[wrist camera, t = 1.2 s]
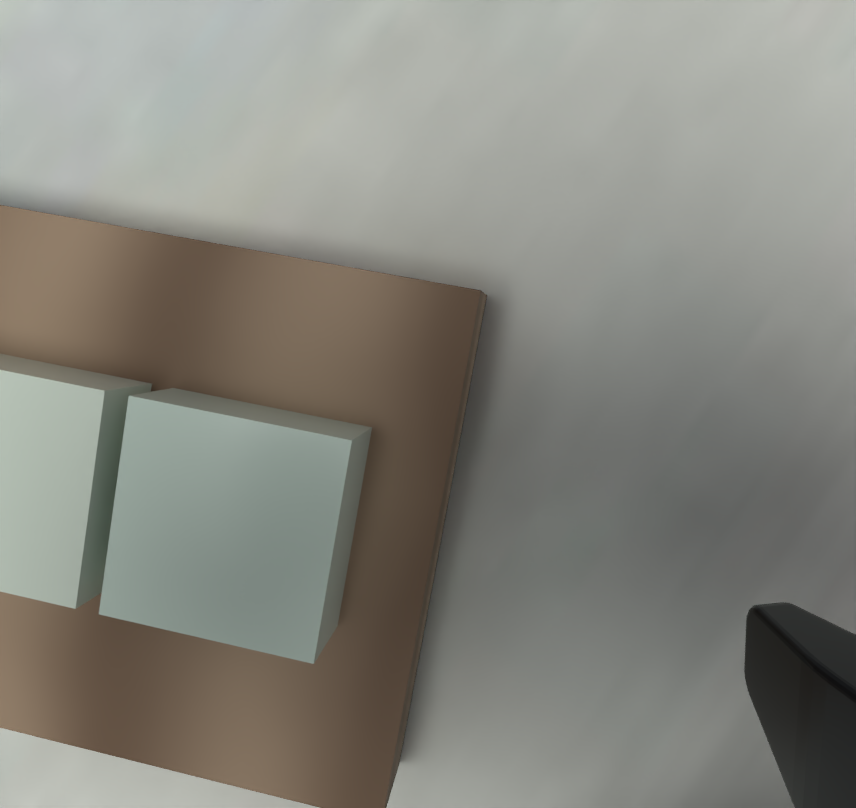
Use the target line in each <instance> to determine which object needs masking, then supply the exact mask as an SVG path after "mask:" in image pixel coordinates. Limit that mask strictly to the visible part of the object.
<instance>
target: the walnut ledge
mask: <svg viewBox="0 0 856 808" xmlns="http://www.w3.org/2000/svg"><path fill="white" fill-rule="evenodd" d="M486 297H487V295H486V294H485V293H483V292H482V291H481V290H475V289H469V288H464V287H458V286H452V285H447V284H441V283H436V282H430V281H424V280H419V279H413V278H408V277H402V276H396V275H391V274H385V273H379V272H374V271H368V270H363V269H357V268H351V267H346V266H340V265H334V264H329V263H323V262H318V261H312V260H306V259H301V258H295V257H289V256H284V255H278V254H273V253H267V252H261V251H256V250H250V249H244V248H239V247H233V246H228V245H222V244H216V243H211V242H205V241H200V240H194V239H188V238H183V237H177V236H171V235H166V234H160V233H155V232H149V231H143V230H138V229H132V228H126V227H121V226H115V225H110V224H104V223H98V222H93V221H87V220H81V219H76V218H70V217H65V216H59V215H53V214H48V213H42V212H37V211H31V210H25V209H20V208H14V207H8V206H3V205H0V354H5V355H10V356H15V357H20V358H25V359H30V360H35V361H40V362H45V363H50V364H55V365H60V366H66V367H71V368H76V369H81V370H86V371H91V372H96V373H101V374H106V375H111V376H116V377H121V378H126V379H131V380H136V381H141V382H146V383H151V384H152V386H151V392H152V391H158V390H164V389H170V388H176V389H181V390H186V391H192V392H197V393H202V394H207V395H212V396H217V397H222V398H227V399H232V400H237V401H242V402H247V403H252V404H257V405H262V406H267V407H272V408H277V409H282V410H287V411H292V412H297V413H302V414H307V415H312V416H317V417H323V418H328V419H333V420H338V421H343V422H348V423H353V424H358V425H363V426H368V427H372V431H371V437H370V442H369V448H368V454H367V460H366V465H365V471H364V477H363V483H362V488H361V494H360V500H359V506H358V511H357V517H356V523H355V529H354V534H353V540H352V546H351V552H350V557H349V563H348V569H347V575H346V580H345V586H344V592H343V598H342V603H341V609H340V615H339V621H338V626H337V628H336V630H335V631H334V633H333V634H332V636H331V637H330V639H329V641H328V642H327V644H326V645H325V647H324V648H323V650H322V652H321V653H320V655H319V656H318V658H317V660H316V661H315V663H314V664H312V663H307V662H303V661H299V660H294V659H290V658H286V657H281V656H277V655H273V654H268V653H264V652H260V651H255V650H251V649H247V648H242V647H238V646H234V645H229V644H225V643H221V642H216V641H212V640H208V639H203V638H199V637H195V636H190V635H186V634H182V633H178V632H173V631H169V630H165V629H160V628H156V627H152V626H147V625H143V624H139V623H134V622H130V621H126V620H121V619H117V618H113V617H108V616H104V615H100V614H99V608H100V601H101V594H102V593H100V594H99V595H97V596H95V597H94V598H92V599H91V600H89V601H87V602H86V603H84V604H83V605H81V606H79V607H78V608H76V609H74V608H69V607H65V606H61V605H56V604H52V603H48V602H44V601H39V600H35V599H31V598H26V597H22V596H18V595H13V594H9V593H5V592H0V728H4V729H8V730H12V731H16V732H20V733H24V734H28V735H32V736H36V737H40V738H44V739H48V740H52V741H56V742H60V743H64V744H68V745H72V746H76V747H80V748H84V749H88V750H92V751H96V752H100V753H104V754H108V755H112V756H116V757H120V758H124V759H128V760H132V761H136V762H140V763H144V764H148V765H152V766H156V767H160V768H164V769H168V770H172V771H176V772H180V773H184V774H188V775H192V776H196V777H200V778H204V779H208V780H212V781H216V782H220V783H224V784H228V785H232V786H236V787H240V788H244V789H248V790H252V791H256V792H260V793H264V794H268V795H272V796H276V797H280V798H284V799H288V800H292V801H296V802H300V803H304V804H308V805H312V806H316V807H320V808H386V807H387V803H388V800H389V796H390V793H391V790H392V786H393V783H394V779H395V776H396V773H397V769H398V766H399V762H400V757H401V751H402V746H403V741H404V735H405V730H406V725H407V719H408V714H409V709H410V703H411V698H412V693H413V687H414V682H415V677H416V671H417V666H418V660H419V655H420V650H421V644H422V639H423V634H424V628H425V623H426V618H427V612H428V607H429V602H430V596H431V591H432V586H433V580H434V575H435V570H436V564H437V559H438V554H439V548H440V543H441V538H442V532H443V527H444V522H445V516H446V511H447V506H448V500H449V495H450V489H451V484H452V479H453V473H454V468H455V463H456V457H457V452H458V447H459V441H460V436H461V431H462V425H463V420H464V415H465V409H466V404H467V399H468V393H469V388H470V383H471V377H472V372H473V367H474V361H475V356H476V351H477V345H478V340H479V335H480V329H481V324H482V318H483V313H484V308H485V302H486Z"/></svg>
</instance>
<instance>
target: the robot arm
mask: <svg viewBox="0 0 856 808" xmlns="http://www.w3.org/2000/svg"><path fill="white" fill-rule="evenodd" d="M744 672H745V680H746V685H747V689H748V692H749V695H750V697H751V700H752V702H753V705H754V707H755V710H756V712H757V715H758V717H759V720H760V722H761V725H762V727H763V730H764V732H765V735H766V737H767V740H768V742H769V745H770V747H771V750H772V752H773V755H774V757H775V760H776V762H777V765H778V767H779V770H780V772H781V775H782V777H783V780H784V782H785V785H786V787H787V790H788V792H789V795H790V797H791V800H792V802H793V804H794V807H795V808H856V635H855V634H853V633H851V632H849V631H847V630H845V629H843V628H840V627H838V626H836V625H834V624H832V623H830V622H828V621H826V620H824V619H822V618H820V617H818V616H816V615H814V614H811V613H809V612H807V611H805V610H803V609H801V608H799V607H797V606H795V605H793V604H790V603H784V602H783V603H772V604H762V605H754V606H753V607H751V608H750V610H749V612H748V615H747V620H746V643H745V667H744Z"/></svg>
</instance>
